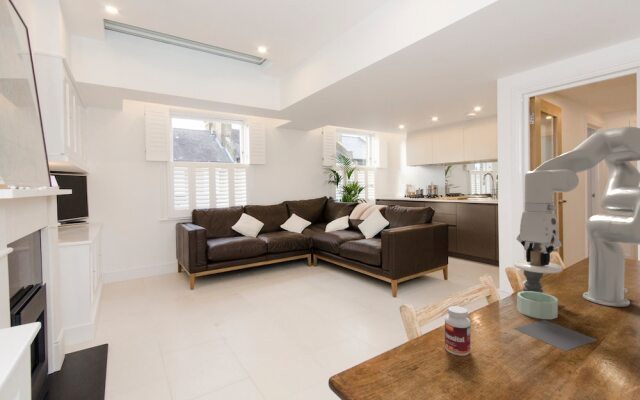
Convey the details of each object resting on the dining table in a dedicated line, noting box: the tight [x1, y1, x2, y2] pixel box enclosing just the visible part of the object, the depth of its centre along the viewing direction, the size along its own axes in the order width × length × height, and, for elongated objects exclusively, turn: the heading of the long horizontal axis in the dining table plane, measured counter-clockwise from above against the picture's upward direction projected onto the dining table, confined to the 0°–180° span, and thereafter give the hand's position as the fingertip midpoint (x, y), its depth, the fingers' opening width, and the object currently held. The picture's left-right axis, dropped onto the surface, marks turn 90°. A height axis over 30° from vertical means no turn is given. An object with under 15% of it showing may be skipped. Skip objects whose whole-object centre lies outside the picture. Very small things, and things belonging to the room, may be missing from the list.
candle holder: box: [522, 243, 544, 293], centre depth 118 cm, size 6×6×25 cm
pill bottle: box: [444, 305, 471, 357], centre depth 82 cm, size 6×6×11 cm
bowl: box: [516, 290, 559, 320], centre depth 105 cm, size 11×11×6 cm
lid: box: [513, 250, 563, 274], centre depth 104 cm, size 13×13×5 cm
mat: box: [513, 319, 598, 352], centre depth 89 cm, size 14×14×1 cm
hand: (537, 262), depth 104 cm, fingers closed on lid, 4 cm apart
